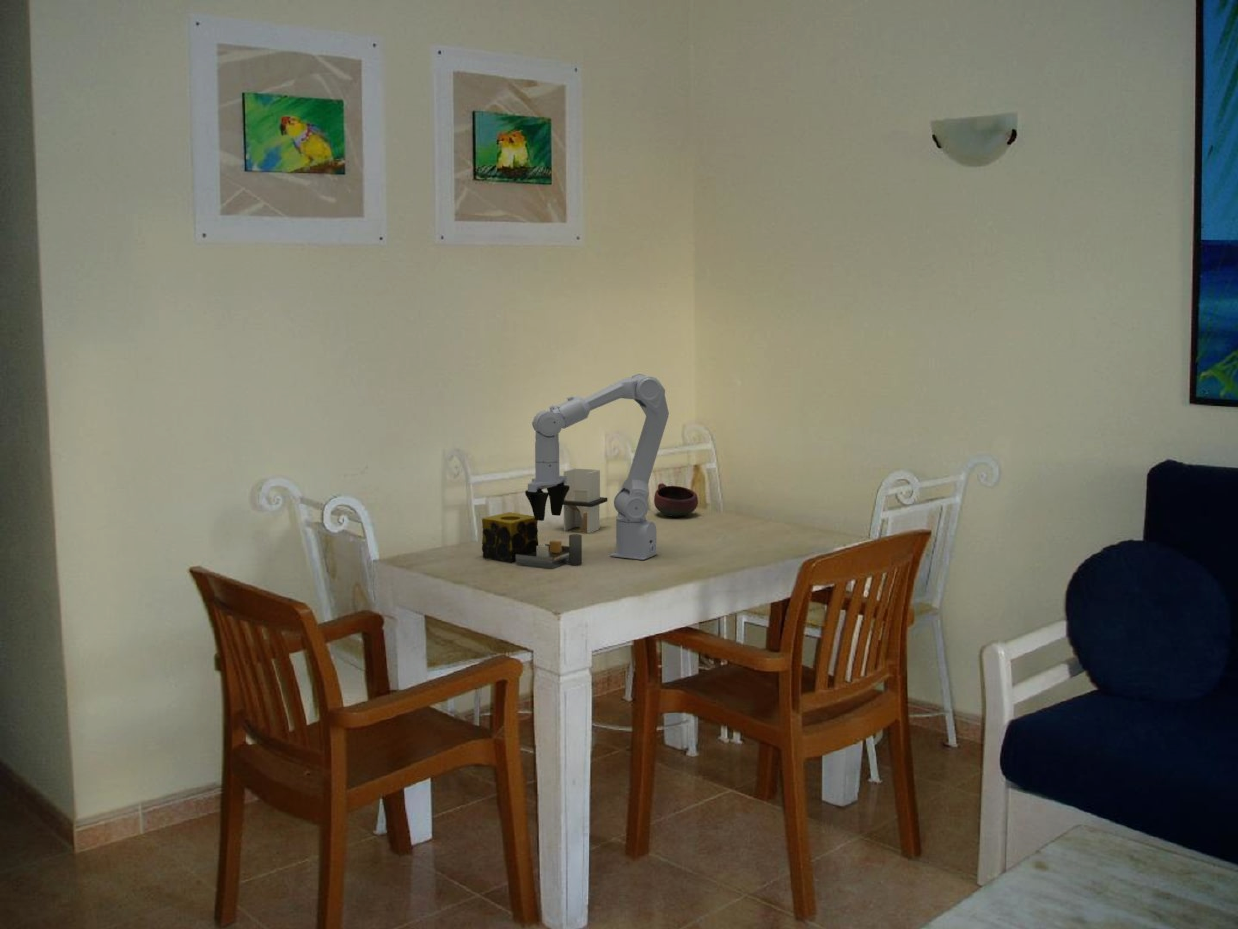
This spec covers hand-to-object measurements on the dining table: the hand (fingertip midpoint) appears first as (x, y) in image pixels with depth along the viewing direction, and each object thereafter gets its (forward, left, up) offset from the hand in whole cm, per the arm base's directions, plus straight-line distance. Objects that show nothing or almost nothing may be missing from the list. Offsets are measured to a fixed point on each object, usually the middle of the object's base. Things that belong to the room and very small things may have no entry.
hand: (547, 517), depth 307 cm
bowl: (0, -68, -11) cm, 69 cm away
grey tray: (-1, +1, -10) cm, 10 cm away
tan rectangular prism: (-1, -2, -9) cm, 9 cm away
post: (-8, +1, -10) cm, 13 cm away
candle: (+10, +1, -11) cm, 15 cm away
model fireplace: (+12, -37, -11) cm, 40 cm away
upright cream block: (-1, +4, -9) cm, 9 cm away
